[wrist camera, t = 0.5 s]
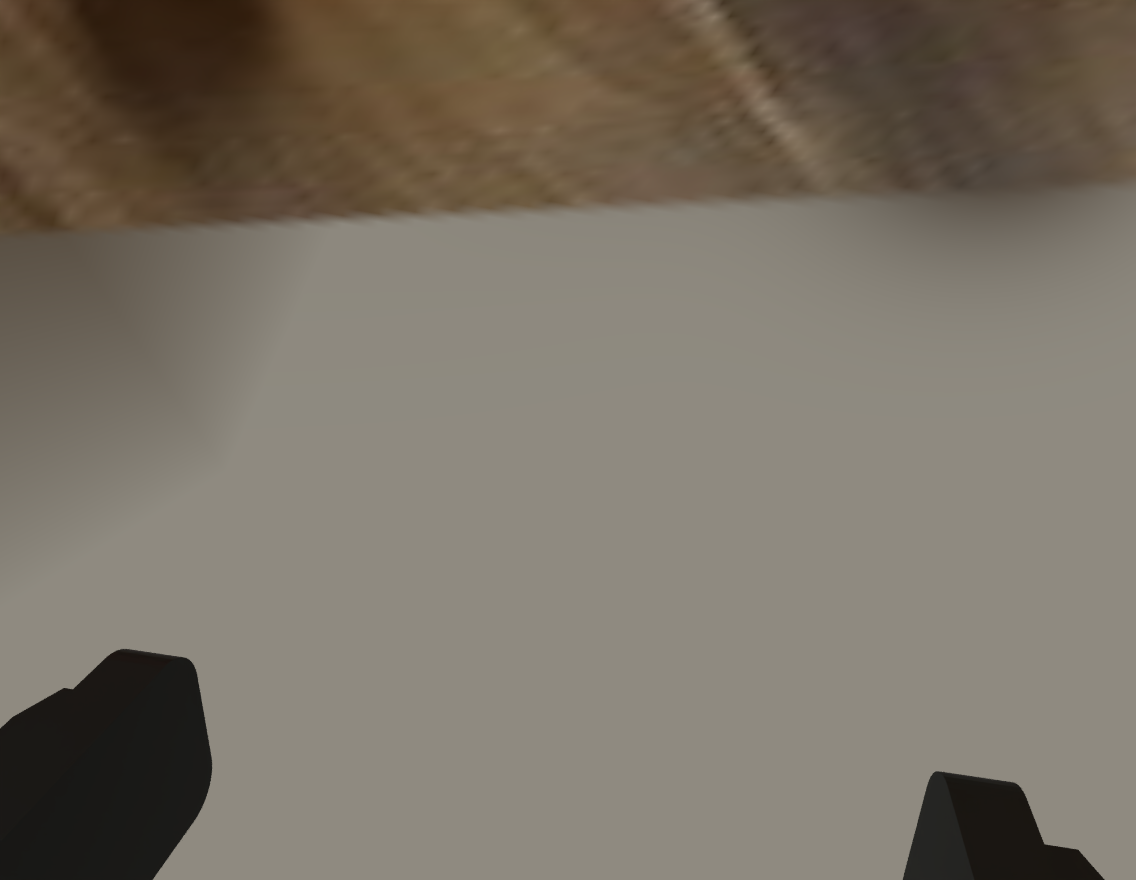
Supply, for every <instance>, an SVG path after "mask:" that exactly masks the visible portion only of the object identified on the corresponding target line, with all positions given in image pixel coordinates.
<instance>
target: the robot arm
mask: <svg viewBox="0 0 1136 880" xmlns="http://www.w3.org/2000/svg"><path fill="white" fill-rule="evenodd" d="M211 774H212V758H211V752H210V746H209V740H208V735H207V729H206V723H205V717H204V712H203V706H202V701H201V694H200V689H199V684H198V677H197V673H196V669H195V667H194V665H193V663H192V662H191V661H190V660H189V659H187V658H183V657H177V656H171V655H163V654H156V653H150V652H143V651H137V650H130V649H121V650H117V651H115V652H113V653H112V654H110V655H109V656H108V657H106V658H105V659H104V660H103V661H102V662H101V663H100V664H99V665H98V666H97V667H96V668H95V669H94V670H93V671H92V672H91V673H90V674H88V675H87V676H86V677H85V678H84V680H82V681H81V682H80V683H79V684H78V685H77V686H76V687H75V688H74V689H67V688H63V689H62V690H60V691H58V692H56V693H54V694H53V695H51V696H49V697H47V698H46V699H44V700H42V701H40V702H39V703H37V704H35V705H33V706H31V707H30V708H28V709H26V710H24V711H23V712H21V713H19V714H17V715H15V716H14V717H12V718H11V719H10V720H9V721H8V722H7V723H6V724H5V725H4V726H2V727H1V728H0V880H153V878H154V877H155V875H156V874H157V873H158V871H159V870H160V868H161V867H162V866H163V864H164V863H165V861H166V860H167V858H168V857H169V856H170V854H171V853H172V851H173V850H174V849H175V847H176V846H177V844H178V843H179V842H180V840H181V839H182V837H183V836H184V835H185V833H186V832H187V830H188V829H189V828H190V826H191V825H192V823H193V822H194V820H195V819H196V817H197V816H198V814H199V812H200V810H201V808H202V806H203V804H204V801H205V799H206V796H207V793H208V789H209V786H210V781H211ZM903 880H1104V879H1103V877H1102V876H1101V875H1100V874H1099V873H1098V872H1097V871H1096V870H1095V868H1094V867H1093V866H1092V865H1091V864H1090V863H1089V862H1088V860H1087V859H1086V858H1085V857H1084V856H1083V855H1082V854H1081V853H1080V851H1079V850H1076V849H1070V848H1063V847H1058V846H1051V845H1045V844H1044V842H1043V840H1042V837H1041V835H1040V832H1039V830H1038V827H1037V824H1036V822H1035V819H1034V817H1033V814H1032V811H1031V809H1030V806H1029V804H1028V801H1027V798H1026V796H1025V794H1024V792H1023V791H1022V789H1021V788H1020V787H1019V786H1018V785H1017V784H1016V783H1013V782H1006V781H1000V780H993V779H986V778H979V777H973V776H966V775H959V774H952V773H945V772H934V773H933V775H932V776H931V777H930V780H929V782H928V785H927V789H926V792H925V796H924V800H923V804H922V808H921V812H920V815H919V819H918V823H917V827H916V831H915V834H914V838H913V842H912V846H911V850H910V854H909V857H908V861H907V865H906V869H905V873H904V877H903Z"/></svg>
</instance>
